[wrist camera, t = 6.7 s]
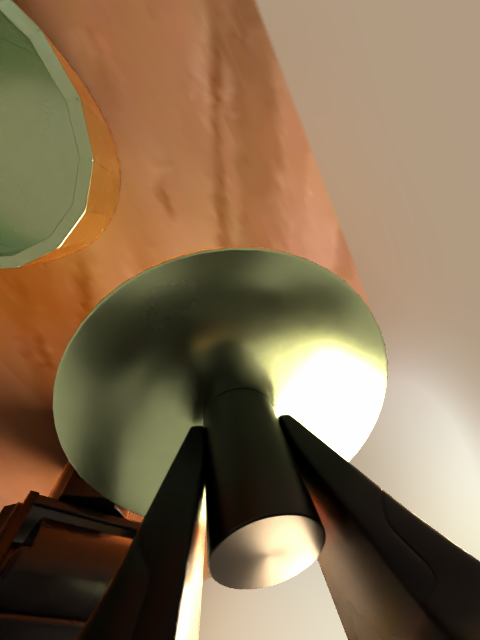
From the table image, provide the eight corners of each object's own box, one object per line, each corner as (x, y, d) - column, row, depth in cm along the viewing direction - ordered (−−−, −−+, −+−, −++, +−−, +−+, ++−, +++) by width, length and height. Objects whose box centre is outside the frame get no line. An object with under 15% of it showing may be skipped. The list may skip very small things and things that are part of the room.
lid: (299, 504, 13) (358, 662, 8) (51, 487, 10) (-85, 727, 5) (419, 304, 10) (631, 377, 5) (103, 180, 7) (-147, 52, 2)
